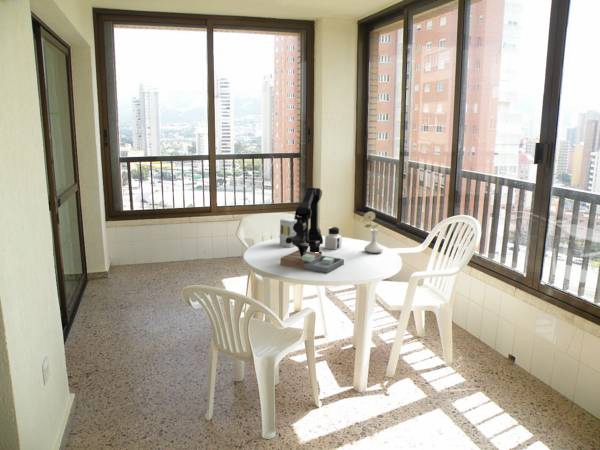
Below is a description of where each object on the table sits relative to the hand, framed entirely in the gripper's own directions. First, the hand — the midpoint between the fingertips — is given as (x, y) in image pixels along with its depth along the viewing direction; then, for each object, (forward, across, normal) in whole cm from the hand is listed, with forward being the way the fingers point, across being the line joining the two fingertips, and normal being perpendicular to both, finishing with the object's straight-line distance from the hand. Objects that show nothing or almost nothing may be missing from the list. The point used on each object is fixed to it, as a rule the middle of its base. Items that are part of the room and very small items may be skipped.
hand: (302, 257), depth 286 cm
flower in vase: (+5, +20, +50) cm, 54 cm away
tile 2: (+2, +10, +11) cm, 15 cm away
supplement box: (+5, -30, +35) cm, 46 cm away
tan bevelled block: (+5, -4, +6) cm, 8 cm away
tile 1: (+1, +4, 0) cm, 4 cm away
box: (+5, +11, +6) cm, 13 cm away
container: (+5, -4, +44) cm, 45 cm away
